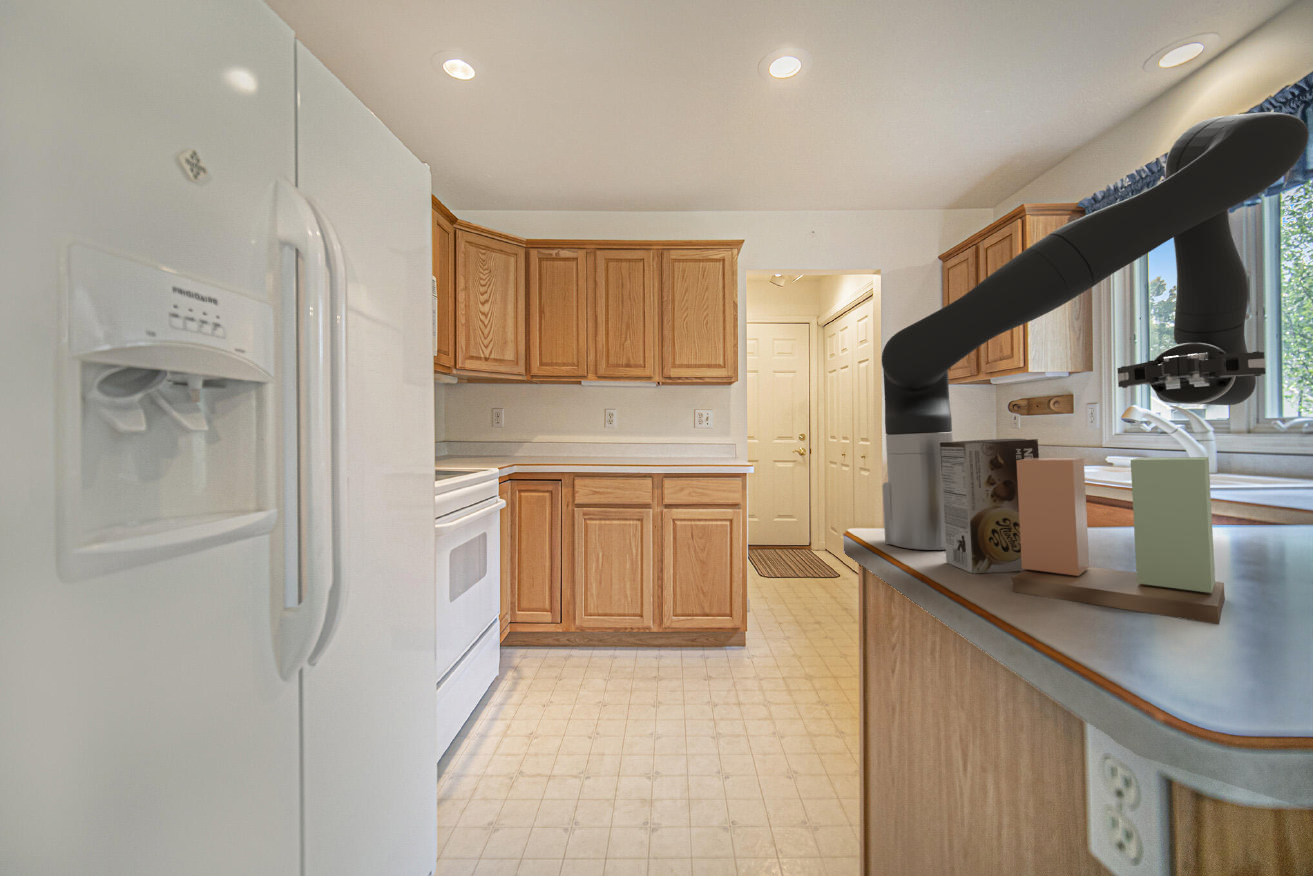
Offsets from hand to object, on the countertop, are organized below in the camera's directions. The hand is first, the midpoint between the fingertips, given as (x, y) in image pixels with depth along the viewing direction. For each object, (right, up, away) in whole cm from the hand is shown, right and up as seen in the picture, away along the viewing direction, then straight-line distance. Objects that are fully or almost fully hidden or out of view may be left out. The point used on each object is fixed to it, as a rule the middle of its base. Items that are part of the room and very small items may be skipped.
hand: (1177, 366), depth 57 cm
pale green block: (-6, -22, -6) cm, 23 cm away
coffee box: (-14, -24, +10) cm, 30 cm away
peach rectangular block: (-12, -22, +1) cm, 25 cm away
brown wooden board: (-10, -24, -3) cm, 26 cm away
